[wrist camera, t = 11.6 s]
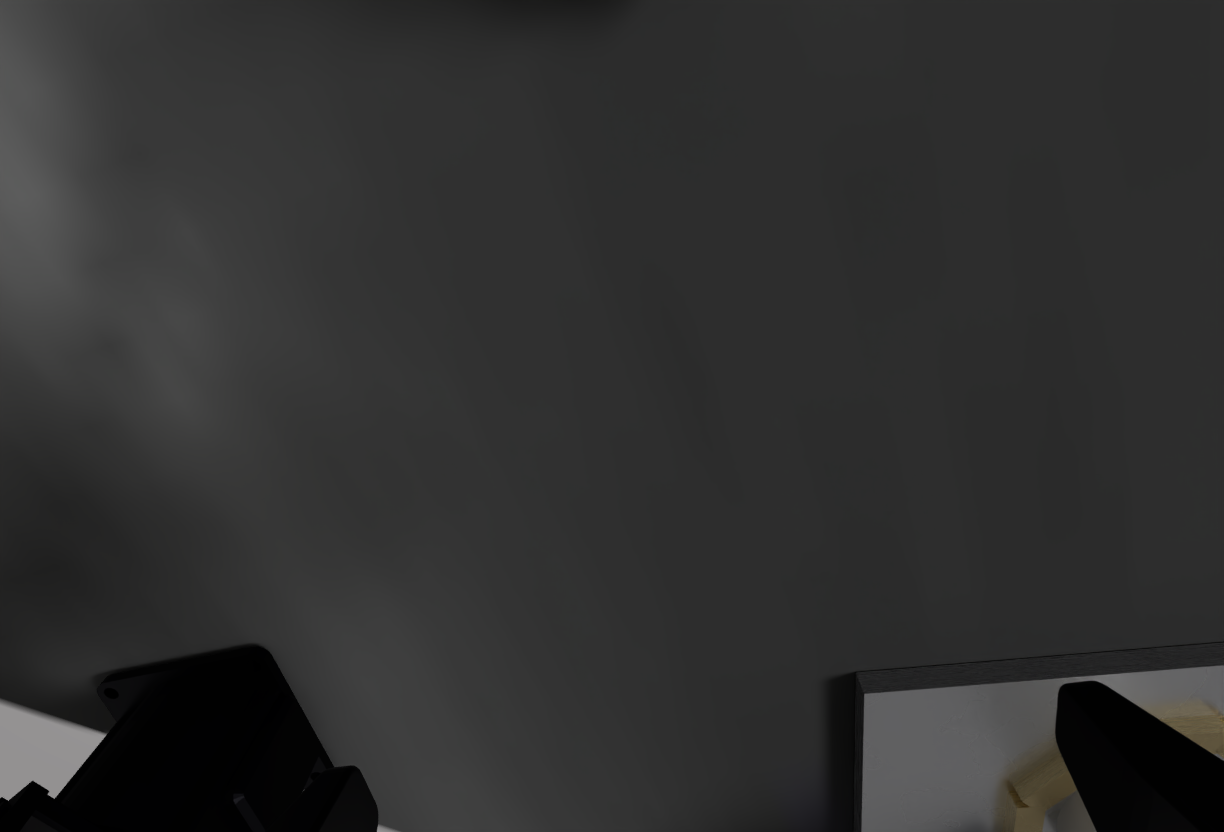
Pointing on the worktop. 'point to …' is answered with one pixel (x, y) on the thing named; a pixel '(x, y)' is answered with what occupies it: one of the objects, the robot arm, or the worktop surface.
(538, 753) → the worktop surface
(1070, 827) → the domed cap cylinder
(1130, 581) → the worktop surface
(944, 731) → the shaft mount
